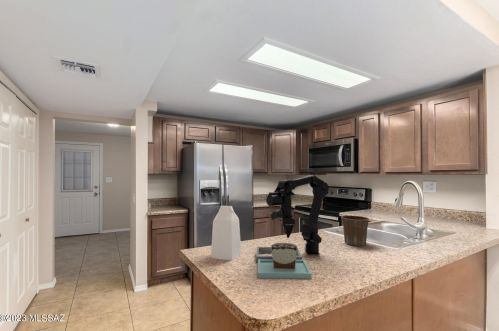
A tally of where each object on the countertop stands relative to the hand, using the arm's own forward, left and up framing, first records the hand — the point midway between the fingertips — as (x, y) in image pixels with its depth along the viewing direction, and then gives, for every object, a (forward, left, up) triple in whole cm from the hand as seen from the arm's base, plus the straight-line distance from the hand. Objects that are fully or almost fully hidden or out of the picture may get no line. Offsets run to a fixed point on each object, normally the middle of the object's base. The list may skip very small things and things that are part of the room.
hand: (286, 235), depth 129 cm
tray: (+4, +16, -12) cm, 20 cm away
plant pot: (-44, -30, -12) cm, 55 cm away
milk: (+32, -4, -12) cm, 34 cm away
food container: (+3, +14, -11) cm, 18 cm away
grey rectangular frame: (+5, -2, -12) cm, 13 cm away
